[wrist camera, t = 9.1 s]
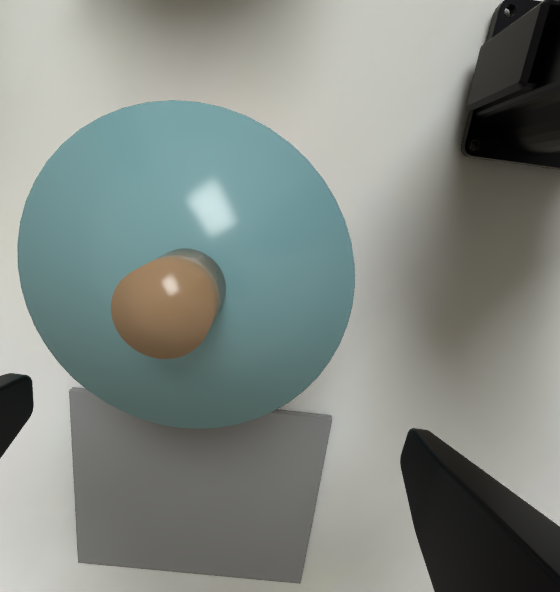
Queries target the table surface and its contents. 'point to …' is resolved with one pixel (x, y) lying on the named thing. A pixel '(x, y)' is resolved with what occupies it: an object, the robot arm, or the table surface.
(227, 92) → the table surface
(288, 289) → the lid
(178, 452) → the mat
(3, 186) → the table surface
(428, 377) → the table surface
